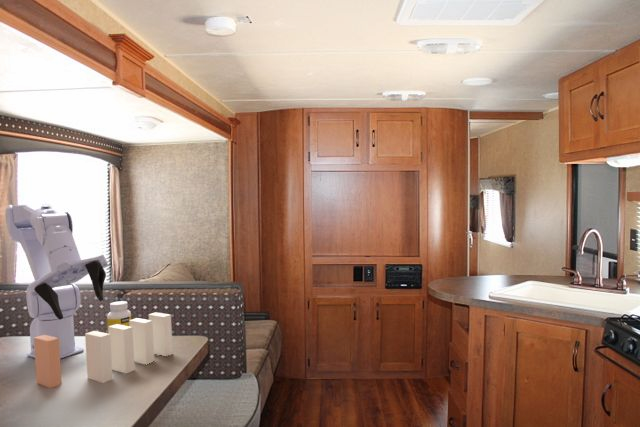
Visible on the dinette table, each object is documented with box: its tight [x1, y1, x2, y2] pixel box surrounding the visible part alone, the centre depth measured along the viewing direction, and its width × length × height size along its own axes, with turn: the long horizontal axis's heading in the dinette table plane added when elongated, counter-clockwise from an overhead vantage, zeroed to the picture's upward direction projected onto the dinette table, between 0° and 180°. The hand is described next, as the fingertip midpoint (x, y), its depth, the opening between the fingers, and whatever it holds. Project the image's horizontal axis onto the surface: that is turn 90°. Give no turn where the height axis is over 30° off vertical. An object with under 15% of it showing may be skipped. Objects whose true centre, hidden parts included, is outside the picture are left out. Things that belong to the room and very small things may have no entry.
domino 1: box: [84, 330, 114, 384], centre depth 88 cm, size 2×5×9 cm, turn 60°
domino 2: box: [107, 324, 135, 374], centre depth 92 cm, size 2×5×9 cm, turn 59°
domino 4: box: [148, 312, 174, 357], centre depth 101 cm, size 2×5×9 cm, turn 60°
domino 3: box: [129, 317, 155, 366], centre depth 97 cm, size 2×5×9 cm, turn 60°
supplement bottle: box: [106, 300, 132, 334], centre depth 110 cm, size 5×5×10 cm
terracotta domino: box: [34, 335, 63, 389], centre depth 86 cm, size 2×5×9 cm, turn 60°
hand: (80, 307), depth 87 cm, fingers open, 7 cm apart
